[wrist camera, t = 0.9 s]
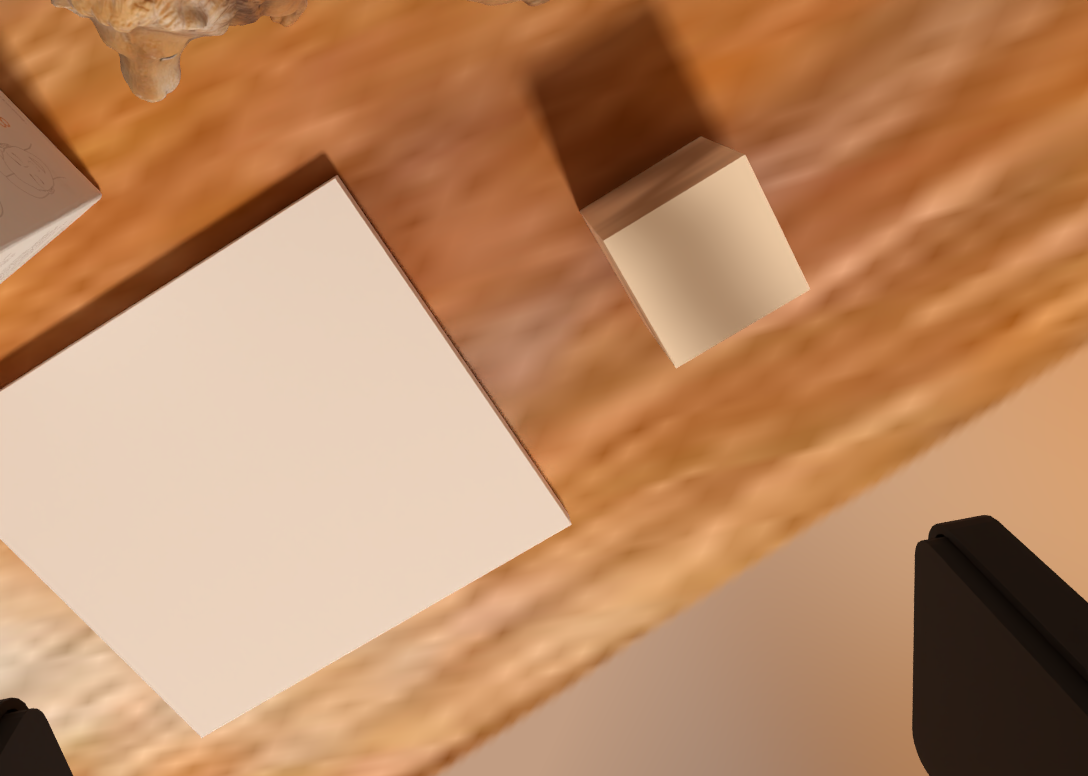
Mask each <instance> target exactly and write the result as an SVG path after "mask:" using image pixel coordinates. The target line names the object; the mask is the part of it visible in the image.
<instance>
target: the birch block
mask: <svg viewBox="0 0 1088 776" xmlns="http://www.w3.org/2000/svg"><path fill="white" fill-rule="evenodd" d="M580 213H581V215H582V217H583V218H584V220H585V222H586V224H587V225H588V227H589V229H590V231H591V232H592V234H593V236H594V237H595V239H596V241H597V243H598V244H599V246H600V248H601V250H602V251H603V253H604V255H605V257H606V258H607V260H608V262H609V263H610V265H611V267H612V269H613V270H614V272H615V274H616V276H617V277H618V279H619V281H620V283H621V284H622V286H623V288H624V289H625V291H626V293H627V295H628V296H629V298H630V300H631V302H632V303H633V305H634V307H635V309H636V310H637V312H638V314H639V315H640V317H641V319H642V321H643V322H644V324H645V325H646V327H647V328H648V330H649V331H650V332H651V334H652V335H653V337H654V338H655V339H656V341H657V342H658V344H659V345H660V346H661V348H662V349H663V350H664V352H665V353H666V355H667V356H668V357H669V359H670V360H671V362H672V363H673V364H674V366H675V367H676V368H678V367H679V366H681V365H683V364H684V363H686V362H688V361H690V360H691V359H693V358H695V357H696V356H698V355H700V354H701V353H703V352H705V351H707V350H708V349H710V348H712V347H713V346H715V345H717V344H718V343H720V342H722V341H724V340H725V339H727V338H729V337H730V336H732V335H734V334H735V333H737V332H739V331H741V330H742V329H744V328H746V327H747V326H749V325H751V324H752V323H754V322H756V321H758V320H759V319H761V318H763V317H764V316H766V315H768V314H769V313H771V312H773V311H775V310H776V309H778V308H780V307H781V306H783V305H785V304H786V303H788V302H790V301H792V300H793V299H795V298H797V297H798V296H800V295H802V294H803V293H805V292H807V291H809V290H810V287H809V285H808V283H807V281H806V279H805V277H804V275H803V273H802V271H801V269H800V267H799V265H798V263H797V261H796V259H795V257H794V254H793V252H792V250H791V248H790V246H789V244H788V242H787V240H786V238H785V236H784V234H783V232H782V230H781V228H780V226H779V223H778V221H777V219H776V217H775V215H774V213H773V211H772V209H771V207H770V205H769V203H768V201H767V199H766V197H765V195H764V193H763V190H762V188H761V186H760V184H759V182H758V180H757V178H756V176H755V174H754V172H753V170H752V168H751V166H750V164H749V162H748V159H747V157H746V155H745V154H743V153H740V152H738V151H735V150H733V149H731V148H728V147H726V146H723V145H721V144H718V143H716V142H714V141H711V140H709V139H706V138H704V137H702V136H700V137H699V138H697V139H695V140H694V141H692V142H690V143H689V144H687V145H686V146H684V147H682V148H681V149H679V150H677V151H676V152H674V153H673V154H671V155H669V156H668V157H666V158H664V159H663V160H661V161H660V162H658V163H656V164H655V165H653V166H651V167H650V168H648V169H646V170H645V171H643V172H642V173H640V174H638V175H637V176H635V177H633V178H632V179H630V180H629V181H627V182H625V183H624V184H622V185H620V186H619V187H617V188H616V189H614V190H612V191H611V192H609V193H607V194H606V195H604V196H603V197H601V198H599V199H598V200H596V201H594V202H593V203H591V204H590V205H588V206H586V207H585V208H583V209H581V210H580Z"/></svg>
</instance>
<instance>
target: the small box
mask: <svg viewBox="0 0 1088 776" xmlns="http://www.w3.org/2000/svg"><path fill="white" fill-rule="evenodd" d="M101 197H102V194H101V192H100V191H99V190H98V189H97V188H96V187H95V186H94V185H93V184H92V183H91V182H90V181H89V180H88V179H87V178H86V177H85V176H84V175H83V174H82V173H81V172H80V171H79V170H78V169H77V168H76V167H75V166H74V165H73V164H72V163H71V162H70V161H69V160H68V159H67V158H66V157H65V156H64V155H63V154H62V153H61V152H60V151H59V150H58V149H57V148H56V147H55V145H54V144H53V143H52V142H51V141H50V140H49V139H48V138H47V137H46V136H45V135H44V134H43V133H42V132H41V131H40V130H39V129H38V128H37V127H36V126H35V125H34V124H33V123H32V122H31V121H30V120H29V119H28V118H27V117H26V116H25V115H24V114H23V113H22V112H21V111H20V110H19V109H18V108H17V107H16V106H15V105H14V103H13V102H12V101H11V100H10V99H9V98H8V97H7V96H6V95H5V94H4V93H3V92H2V91H1V90H0V284H1V283H2V282H3V281H4V280H5V279H7V278H8V277H9V276H10V275H11V274H13V273H14V272H15V271H16V270H17V269H19V268H20V267H21V266H22V265H23V264H25V263H26V262H27V261H28V260H29V259H31V258H32V257H33V256H34V255H35V254H37V253H38V252H39V251H40V250H41V249H43V248H44V247H45V246H46V245H47V244H48V243H50V242H51V241H52V240H53V239H54V238H55V237H57V236H58V235H59V234H60V233H61V232H62V231H64V230H65V229H66V228H67V227H68V226H69V225H71V224H72V223H73V222H74V221H75V220H76V219H78V218H79V217H80V216H81V215H82V214H83V213H84V212H86V211H87V210H88V209H89V208H90V207H91V206H92V205H93V204H95V203H96V202H97V201H98V200H99V199H100V198H101Z"/></svg>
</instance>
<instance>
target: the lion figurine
mask: <svg viewBox="0 0 1088 776" xmlns="http://www.w3.org/2000/svg"><path fill="white" fill-rule="evenodd" d="M468 1H474V2H479V3H482V4H485V5H502V4H507V3H512V2H516V1H523V2H525V3H526V4H527V5H529V6H538V5H540V4H543V3H545V2H548V1H549V0H468ZM51 3H52V4H53V5H54V6H55V7H58V8H61V7H62V8H67V9H69V10H71V11H73V12H74V13H75V14H77V15H78V16H80V17H84V18H90V19H91V20H92V21H93V23H94V25H95V26H96V29H97V31H98V33H99V35H100V37H101V38H102V40H103V42H104V43H105V44H106V45H107V46H108V47H110V48H112V49H114V50H115V51H117V52H118V53H119V56H120V64H121V71H122V74H123V77H124V79H125V81H126V82H127V83H128V85H129V87H130V89H131V90H132V92H133V93H134V94H135V95H136V96H137V97H139V98H141V99H143V100H145V101H148V102H158V101H160V100H162V99H164V98H165V97H166V95H167V93H170V92H172V91H173V90H174V89H175V88H176V87H177V85H178V84H179V81H180V75H181V70H180V64H179V63H180V56H181V53H182V51H183V50H184V48H185V47H186V46H187V44H188V43H189V42H190V41H191V40H193V39H196V38H199V37H203V36H218V35H223V34H224V33H225V32H226V31H227V29H228V27H229V26H236V25H240V26H241V25H246V24H250V23H254V22H256V21H257V20H258V19H259V18H260V17H261V16H263V15H265V16H270V18H271V20H272V21H273V22H276V23H280V24H282V25H283V26H285V27H289V26H291V25H292V24H293V23H294V22H296V20H297V19H298V18H299V17H300V16H301V14H302V13H303V12H304V10H305V9H306V7H307V0H51Z"/></svg>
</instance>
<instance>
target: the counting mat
mask: <svg viewBox="0 0 1088 776" xmlns="http://www.w3.org/2000/svg"><path fill="white" fill-rule="evenodd" d="M570 525H572V524H571V521H570V517H569V514H568V513H567V511H566V510H565V508H564V507H563V505H562V504H561V502H560V501H559V499H558V498H557V497H556V495H555V494H554V492H553V491H552V489H551V488H550V486H549V485H548V483H547V482H546V480H545V479H544V477H543V476H542V475H541V473H540V472H539V470H538V469H537V467H536V466H535V464H534V463H533V461H532V460H531V458H530V457H529V455H528V454H527V453H526V451H525V450H524V448H523V447H522V445H521V444H520V442H519V441H518V439H517V438H516V436H515V435H514V433H513V432H512V430H511V429H510V428H509V426H508V425H507V423H506V422H505V420H504V419H503V417H502V416H501V414H500V413H499V411H498V410H497V408H496V407H495V406H494V404H493V403H492V401H491V400H490V398H489V397H488V395H487V394H486V392H485V391H484V389H483V388H482V386H481V385H480V384H479V382H478V381H477V379H476V378H475V376H474V375H473V373H472V372H471V370H470V369H469V367H468V366H467V364H466V363H465V361H464V360H463V359H462V357H461V356H460V354H459V353H458V351H457V350H456V348H455V347H454V345H453V344H452V342H451V341H450V339H449V338H448V337H447V335H446V334H445V332H444V331H443V329H442V328H441V326H440V325H439V323H438V322H437V320H436V319H435V317H434V316H433V315H432V313H431V312H430V310H429V309H428V307H427V306H426V304H425V303H424V301H423V300H422V298H421V297H420V295H419V294H418V292H417V291H416V290H415V288H414V287H413V285H412V284H411V282H410V281H409V279H408V278H407V276H406V275H405V273H404V272H403V270H402V269H401V268H400V266H399V265H398V263H397V262H396V260H395V259H394V257H393V256H392V254H391V253H390V251H389V250H388V248H387V247H386V245H385V244H384V243H383V241H382V240H381V238H380V237H379V235H378V234H377V232H376V231H375V229H374V228H373V226H372V225H371V223H370V222H369V221H368V219H367V218H366V216H365V215H364V213H363V212H362V210H361V209H360V207H359V206H358V204H357V203H356V201H355V200H354V199H353V197H352V196H351V194H350V193H349V191H348V190H347V188H346V187H345V185H344V184H343V182H342V181H341V179H340V178H339V176H338V175H336V176H335V177H333V178H331V179H330V180H328V181H327V182H325V183H324V184H322V185H320V186H319V187H317V188H316V189H314V190H313V191H311V192H309V193H308V194H306V195H305V196H303V197H302V198H300V199H298V200H297V201H295V202H294V203H292V204H291V205H289V206H287V207H286V208H284V209H283V210H281V211H280V212H278V213H276V214H275V215H273V216H272V217H270V218H269V219H267V220H265V221H264V222H262V223H261V224H259V225H258V226H256V227H255V228H253V229H251V230H250V231H248V232H247V233H245V234H244V235H242V236H240V237H239V238H237V239H236V240H234V241H233V242H231V243H229V244H228V245H226V246H225V247H223V248H222V249H220V250H218V251H217V252H215V253H214V254H212V255H211V256H209V257H207V258H206V259H204V260H203V261H201V262H200V263H198V264H196V265H195V266H193V267H192V268H190V269H189V270H187V271H185V272H184V273H182V274H181V275H179V276H178V277H176V278H175V279H173V280H171V281H170V282H168V283H167V284H165V285H164V286H162V287H160V288H159V289H157V290H156V291H154V292H153V293H151V294H149V295H148V296H146V297H145V298H143V299H142V300H140V301H138V302H137V303H135V304H134V305H132V306H131V307H129V308H127V309H126V310H124V311H123V312H121V313H120V314H118V315H116V316H115V317H113V318H112V319H110V320H109V321H107V322H105V323H104V324H102V325H101V326H99V327H98V328H96V329H95V330H93V331H91V332H90V333H88V334H87V335H85V336H84V337H82V338H80V339H79V340H77V341H76V342H74V343H73V344H71V345H69V346H68V347H66V348H65V349H63V350H62V351H60V352H58V353H57V354H55V355H54V356H52V357H51V358H49V359H47V360H46V361H44V362H43V363H41V364H40V365H38V366H36V367H35V368H33V369H32V370H30V371H29V372H27V373H25V374H24V375H22V376H21V377H19V378H18V379H16V380H15V381H13V382H11V383H10V384H8V385H7V386H5V387H4V388H2V389H0V539H1V540H2V541H3V542H4V543H5V544H6V545H7V546H8V547H9V548H10V549H11V550H12V551H13V552H14V553H15V554H16V555H17V556H18V557H19V558H20V559H21V560H22V561H23V562H24V563H25V564H26V565H27V566H28V567H29V568H30V569H31V570H32V571H33V572H34V573H35V574H36V575H37V576H38V577H39V578H40V579H41V580H42V581H43V582H44V583H45V584H46V585H47V586H48V587H50V588H51V589H52V590H53V591H54V592H55V593H56V594H57V595H58V596H59V597H60V598H61V599H62V600H63V601H64V602H65V603H66V604H67V605H68V606H69V607H70V608H71V609H72V610H73V611H74V612H75V613H76V614H77V615H78V616H79V617H80V618H81V619H82V620H83V621H84V622H85V623H86V624H87V625H88V626H89V627H90V628H91V629H92V630H93V631H94V632H95V633H96V634H97V635H98V636H99V637H100V638H101V639H102V640H103V641H104V642H105V643H106V644H107V645H108V646H109V647H110V648H111V649H112V650H113V651H114V652H115V653H116V654H117V655H118V656H119V657H120V658H121V659H123V660H124V661H125V662H126V663H127V664H128V665H129V666H130V667H131V668H132V669H133V670H134V671H135V672H136V673H137V674H138V675H139V676H140V677H141V678H142V679H143V680H144V681H145V682H146V683H147V684H148V685H149V686H150V687H151V688H152V689H153V690H154V691H155V692H156V693H157V694H158V695H159V696H160V697H161V698H162V699H163V700H164V701H165V702H166V703H167V704H168V705H169V706H170V707H171V708H172V709H173V710H174V711H175V712H176V713H177V714H178V715H179V716H180V717H181V718H182V719H183V720H184V721H185V722H186V723H187V724H188V725H189V726H190V727H191V728H192V729H193V730H195V731H196V732H197V733H198V734H199V735H200V736H201V737H202V738H203V737H204V736H206V735H208V734H210V733H211V732H213V731H215V730H216V729H218V728H220V727H222V726H223V725H225V724H227V723H229V722H230V721H232V720H234V719H236V718H237V717H239V716H241V715H242V714H244V713H246V712H248V711H249V710H251V709H253V708H255V707H256V706H258V705H260V704H262V703H263V702H265V701H267V700H268V699H270V698H272V697H274V696H275V695H277V694H279V693H281V692H282V691H284V690H286V689H287V688H289V687H291V686H293V685H294V684H296V683H298V682H300V681H301V680H303V679H305V678H307V677H308V676H310V675H312V674H313V673H315V672H317V671H319V670H320V669H322V668H324V667H326V666H327V665H329V664H331V663H333V662H334V661H336V660H338V659H339V658H341V657H343V656H345V655H346V654H348V653H350V652H352V651H353V650H355V649H357V648H359V647H360V646H362V645H364V644H365V643H367V642H369V641H371V640H372V639H374V638H376V637H378V636H379V635H381V634H383V633H384V632H386V631H388V630H390V629H391V628H393V627H395V626H397V625H398V624H400V623H402V622H404V621H405V620H407V619H409V618H410V617H412V616H414V615H416V614H417V613H419V612H421V611H423V610H424V609H426V608H428V607H430V606H431V605H433V604H435V603H436V602H438V601H440V600H442V599H443V598H445V597H447V596H449V595H450V594H452V593H454V592H456V591H457V590H459V589H461V588H462V587H464V586H466V585H468V584H469V583H471V582H473V581H475V580H476V579H478V578H480V577H481V576H483V575H485V574H487V573H488V572H490V571H492V570H494V569H495V568H497V567H499V566H501V565H502V564H504V563H506V562H507V561H509V560H511V559H513V558H514V557H516V556H518V555H520V554H521V553H523V552H525V551H527V550H528V549H530V548H532V547H533V546H535V545H537V544H539V543H540V542H542V541H544V540H546V539H547V538H549V537H551V536H553V535H554V534H556V533H558V532H559V531H561V530H563V529H565V528H566V527H568V526H570Z"/></svg>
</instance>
